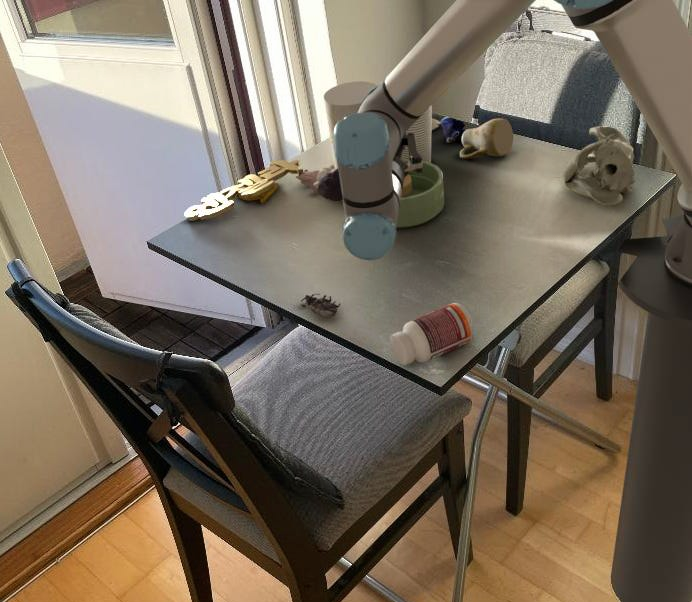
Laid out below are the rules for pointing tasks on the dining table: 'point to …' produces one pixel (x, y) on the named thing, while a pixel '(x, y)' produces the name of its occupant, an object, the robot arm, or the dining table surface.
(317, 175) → the figurine
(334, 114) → the white cylinder
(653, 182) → the dining table surface
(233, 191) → the lettering
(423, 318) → the pill bottle
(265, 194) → the logo
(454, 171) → the dining table surface
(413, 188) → the bowl
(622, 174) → the animal skull
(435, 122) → the stone fragment
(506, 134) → the mug
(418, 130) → the cup
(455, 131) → the spaceship
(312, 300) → the beetle
